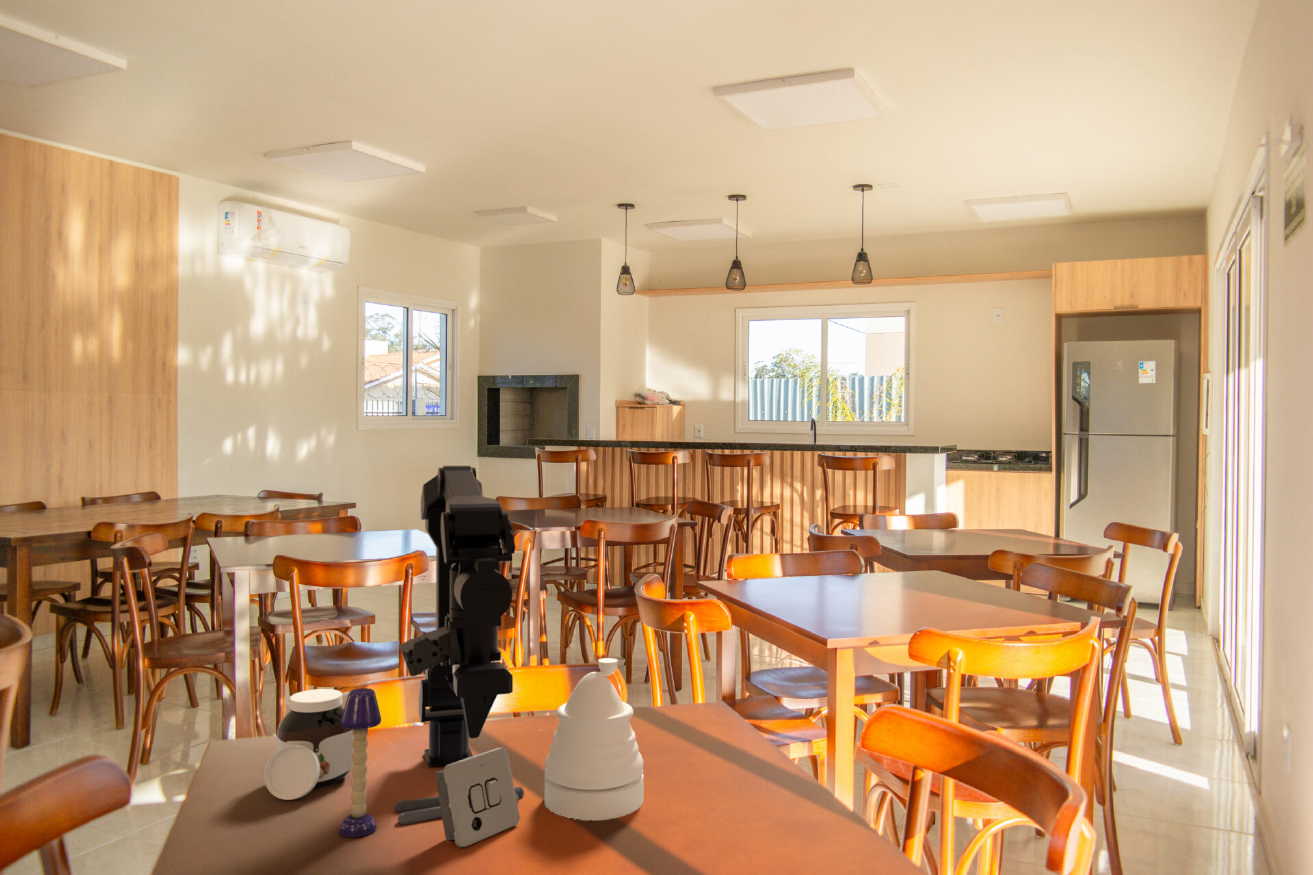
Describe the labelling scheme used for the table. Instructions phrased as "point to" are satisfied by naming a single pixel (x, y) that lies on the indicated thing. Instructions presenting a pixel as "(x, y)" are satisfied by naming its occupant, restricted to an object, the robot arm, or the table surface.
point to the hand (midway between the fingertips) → (473, 737)
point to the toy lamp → (359, 758)
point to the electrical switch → (477, 797)
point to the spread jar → (310, 746)
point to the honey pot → (594, 753)
